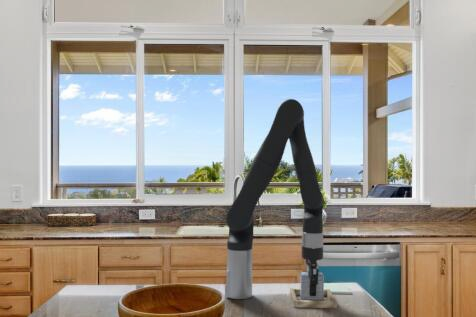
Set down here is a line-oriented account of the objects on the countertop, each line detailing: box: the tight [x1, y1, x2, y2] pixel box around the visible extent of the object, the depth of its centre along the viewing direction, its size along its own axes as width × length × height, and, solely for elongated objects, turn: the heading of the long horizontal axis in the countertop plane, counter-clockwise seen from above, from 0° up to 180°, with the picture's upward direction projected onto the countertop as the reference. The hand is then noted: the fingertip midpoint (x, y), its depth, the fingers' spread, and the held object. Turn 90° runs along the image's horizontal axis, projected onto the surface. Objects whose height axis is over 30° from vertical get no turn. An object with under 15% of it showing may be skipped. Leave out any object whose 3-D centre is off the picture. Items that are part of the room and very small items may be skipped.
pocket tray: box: [289, 288, 338, 309], centre depth 147 cm, size 14×14×2 cm
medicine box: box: [299, 271, 325, 301], centre depth 147 cm, size 8×4×9 cm, turn 84°
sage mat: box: [324, 282, 352, 295], centre depth 160 cm, size 11×11×1 cm
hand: (311, 293), depth 147 cm, fingers closed on medicine box, 4 cm apart
